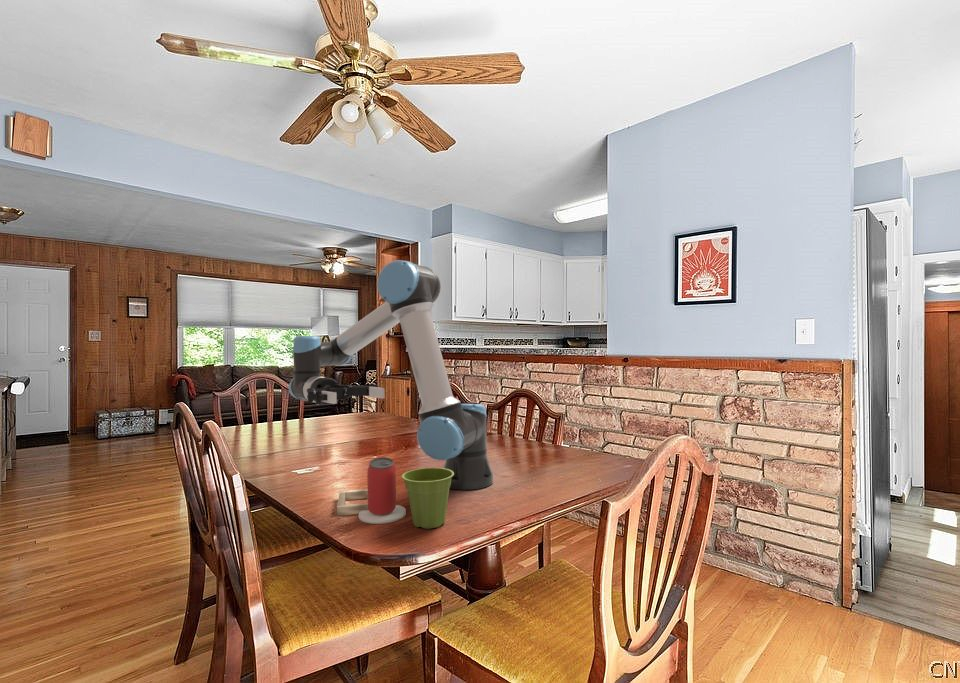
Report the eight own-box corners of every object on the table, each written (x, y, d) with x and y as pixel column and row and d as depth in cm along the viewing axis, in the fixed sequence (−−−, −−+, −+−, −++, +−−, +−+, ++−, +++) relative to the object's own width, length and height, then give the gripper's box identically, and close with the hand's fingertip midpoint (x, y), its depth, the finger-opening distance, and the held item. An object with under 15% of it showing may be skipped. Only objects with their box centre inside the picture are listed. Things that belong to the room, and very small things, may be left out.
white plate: (403, 505, 123) (403, 502, 123) (407, 521, 113) (407, 517, 113) (358, 509, 121) (358, 506, 121) (358, 525, 110) (358, 522, 110)
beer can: (389, 518, 113) (389, 470, 111) (362, 514, 114) (362, 466, 112) (399, 503, 119) (400, 458, 117) (374, 500, 121) (374, 454, 118)
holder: (389, 494, 132) (389, 487, 132) (392, 510, 120) (392, 502, 120) (339, 498, 129) (339, 491, 129) (337, 515, 117) (337, 507, 117)
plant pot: (434, 510, 120) (433, 464, 120) (465, 523, 111) (464, 474, 111) (392, 522, 112) (391, 473, 112) (421, 538, 103) (421, 484, 103)
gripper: (361, 399, 148) (401, 405, 133) (278, 408, 131) (313, 416, 115) (361, 374, 148) (401, 377, 133) (277, 380, 131) (312, 384, 115)
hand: (360, 395), depth 124 cm, fingers open, 13 cm apart
